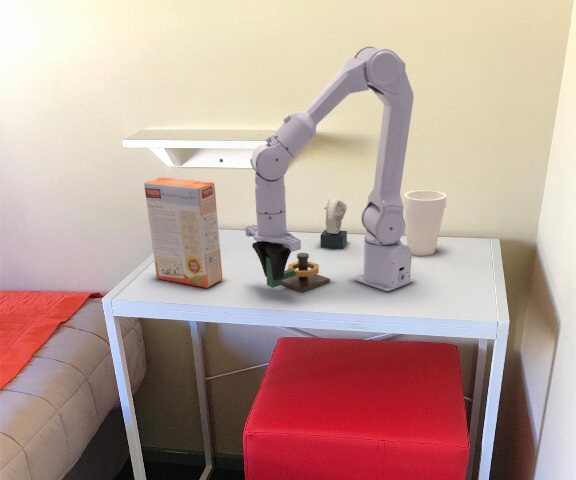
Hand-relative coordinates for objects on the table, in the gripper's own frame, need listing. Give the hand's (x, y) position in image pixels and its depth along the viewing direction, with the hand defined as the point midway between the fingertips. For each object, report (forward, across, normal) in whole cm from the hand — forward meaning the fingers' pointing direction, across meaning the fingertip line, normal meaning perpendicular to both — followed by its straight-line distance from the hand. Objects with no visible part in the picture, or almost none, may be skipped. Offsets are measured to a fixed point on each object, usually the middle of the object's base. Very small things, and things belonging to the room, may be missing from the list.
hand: (274, 277), depth 134 cm
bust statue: (+3, -13, +30) cm, 33 cm away
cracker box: (+3, -19, -8) cm, 21 cm away
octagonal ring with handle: (+2, 0, +5) cm, 5 cm away
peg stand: (+3, 0, +8) cm, 9 cm away
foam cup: (+4, +5, +41) cm, 41 cm away
